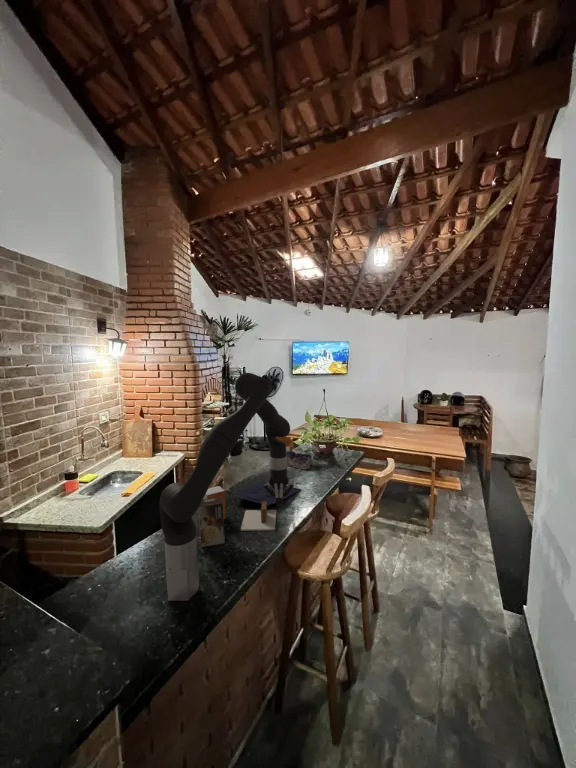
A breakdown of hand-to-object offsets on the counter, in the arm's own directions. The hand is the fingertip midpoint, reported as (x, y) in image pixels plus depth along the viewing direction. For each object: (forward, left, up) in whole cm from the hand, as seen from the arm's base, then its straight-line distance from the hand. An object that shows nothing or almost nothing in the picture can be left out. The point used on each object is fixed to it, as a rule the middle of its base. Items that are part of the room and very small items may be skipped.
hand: (279, 505), depth 141 cm
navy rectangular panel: (+24, +7, -7) cm, 26 cm away
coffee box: (-15, +26, -7) cm, 31 cm away
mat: (0, +9, -7) cm, 11 cm away
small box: (+2, +29, -7) cm, 30 cm away
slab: (+4, +7, -3) cm, 8 cm away
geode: (+66, -10, -7) cm, 67 cm away
